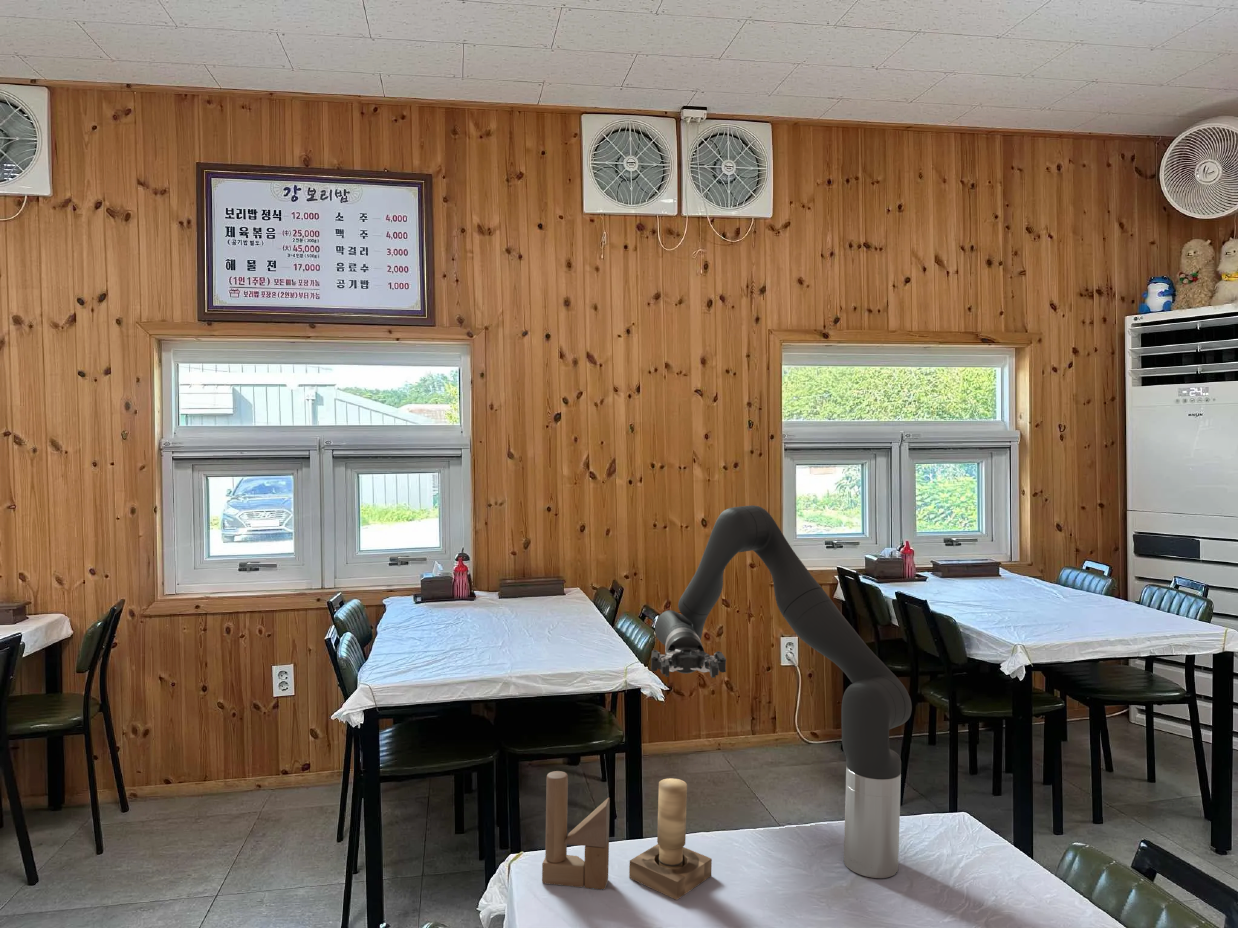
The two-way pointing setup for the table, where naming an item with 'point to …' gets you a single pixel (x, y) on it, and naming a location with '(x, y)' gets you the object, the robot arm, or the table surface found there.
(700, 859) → the square wooden ring
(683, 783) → the oak leg
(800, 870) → the table surface
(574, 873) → the wooden block
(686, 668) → the robot arm
